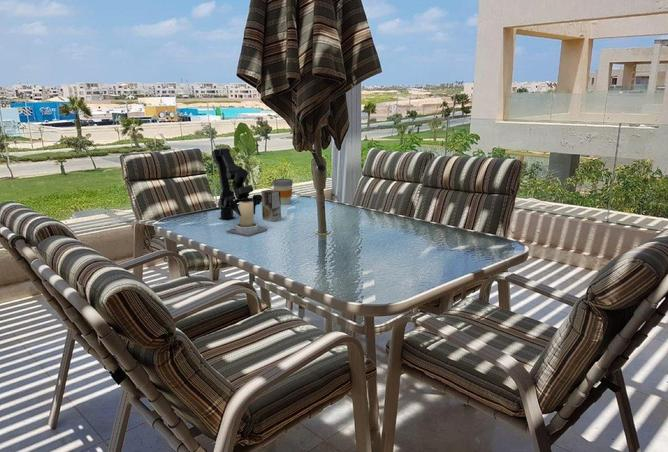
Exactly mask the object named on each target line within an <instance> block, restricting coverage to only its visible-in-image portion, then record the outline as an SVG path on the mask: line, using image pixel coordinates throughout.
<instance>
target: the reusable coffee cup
mask: <svg viewBox="0 0 668 452" xmlns="http://www.w3.org/2000/svg"><path fill="white" fill-rule="evenodd" d="M272 186H273V189H272V190H275V191H280V201H281V206H288V205H290V204H291V198H292V193H293V179H289V178H277V179H273V180H272Z"/></svg>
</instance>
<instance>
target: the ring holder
mask: <svg viewBox="0 0 668 452" xmlns="http://www.w3.org/2000/svg"><path fill="white" fill-rule="evenodd" d="M267 231H268V228H265V227H259V224H258V223H257V222H254V226H253V227H240V222H238V223H236V224H235V228H231V229H229V230H226V232H227V233H228V234H232V235H237V236H243V237H247V238H248V237H252V236H255V235H259V234H262V233H265V232H267Z"/></svg>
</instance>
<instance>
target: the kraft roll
mask: <svg viewBox="0 0 668 452" xmlns="http://www.w3.org/2000/svg"><path fill="white" fill-rule="evenodd" d="M238 208H239V211H240V214H241V216H239V215H238V219H239V223H240V227H253V226H254V223H255V221H254V220H255V219H254V217H255V215H254V210H253V202H252V201H241V202H239V203H238Z"/></svg>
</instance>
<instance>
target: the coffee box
mask: <svg viewBox="0 0 668 452" xmlns="http://www.w3.org/2000/svg"><path fill="white" fill-rule="evenodd" d="M261 196H262V200H261V212H262V215H261V216H262V220H265V221H267V222H268V221H269V222H273V223H274V222H276V221H277V222H278V221H282V208H281V207H282V205H281V201H280V191H275V190H273V189H266V190H261Z"/></svg>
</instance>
